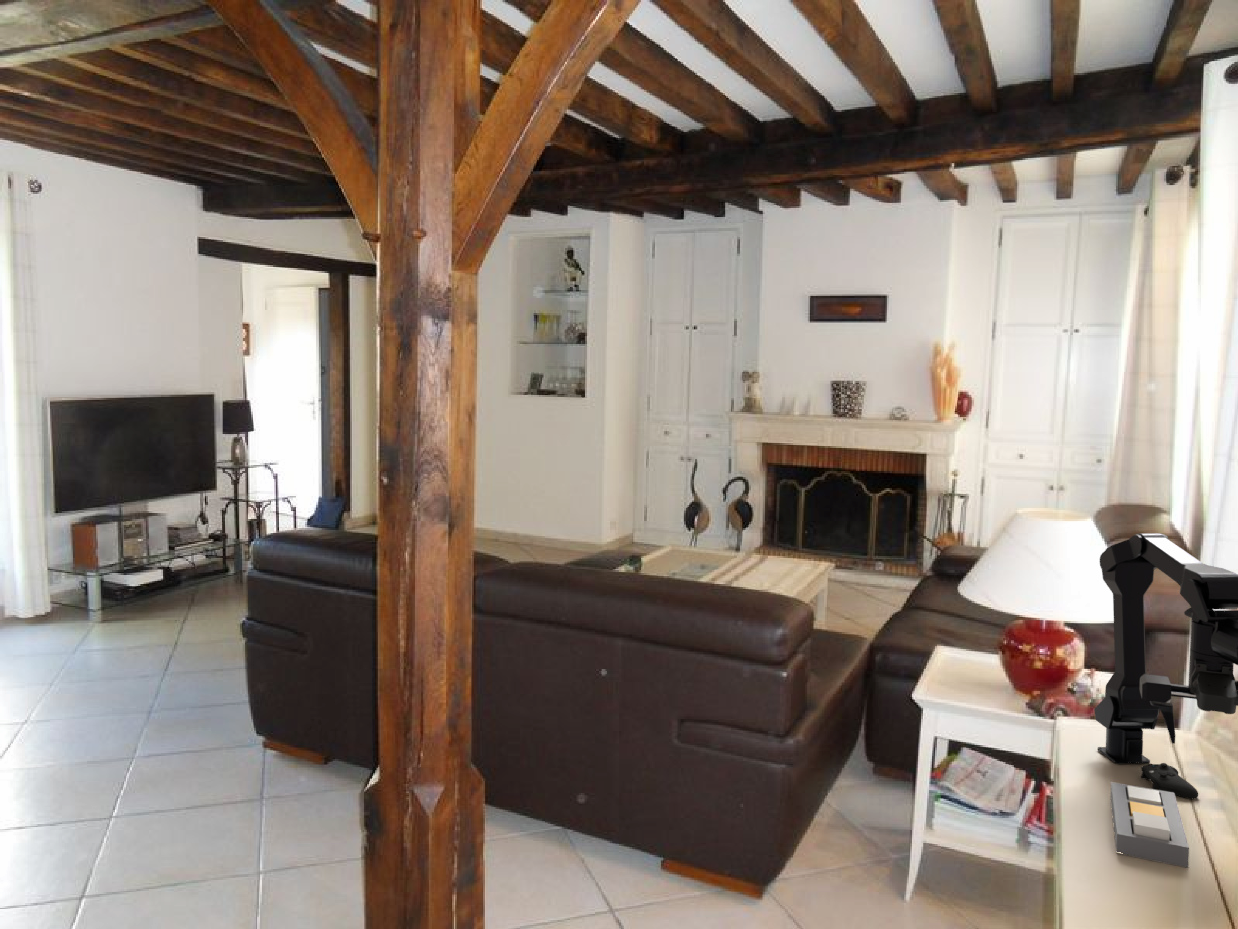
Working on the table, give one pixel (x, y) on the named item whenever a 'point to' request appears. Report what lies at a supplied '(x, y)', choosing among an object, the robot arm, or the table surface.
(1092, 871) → the table surface
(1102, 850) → the table surface
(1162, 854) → the switch strip
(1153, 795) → the button
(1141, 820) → the button
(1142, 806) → the button mid
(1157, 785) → the game controller
